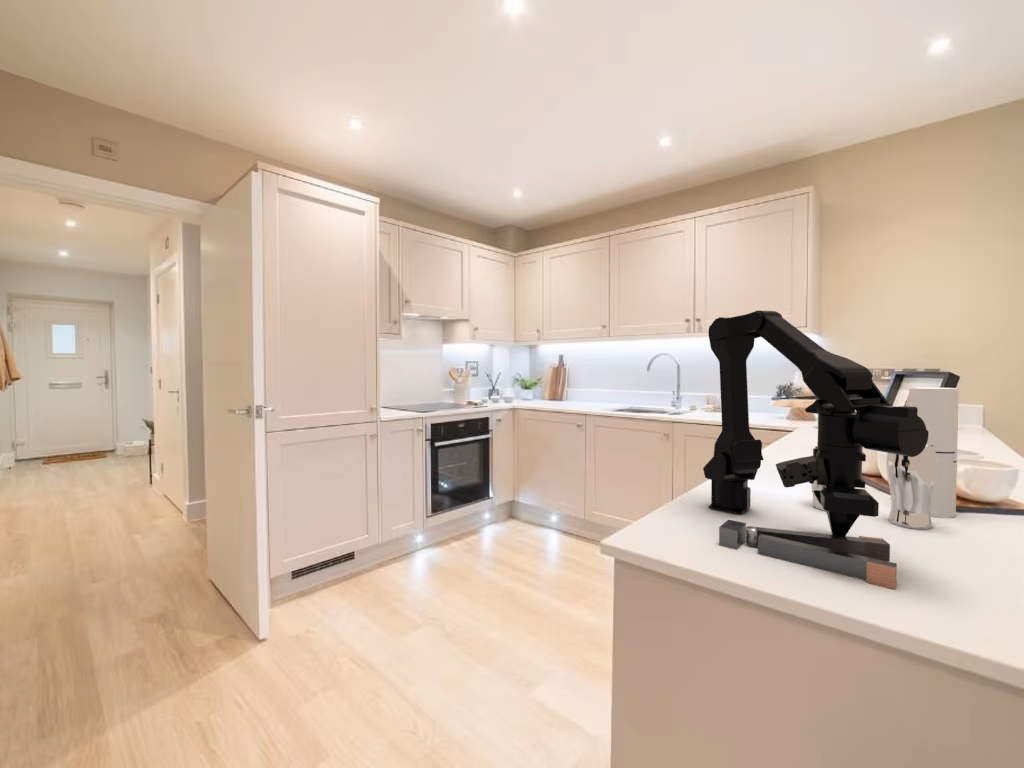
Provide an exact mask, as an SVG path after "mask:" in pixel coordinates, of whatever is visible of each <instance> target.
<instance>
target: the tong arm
mask: <svg viewBox="0 0 1024 768" xmlns="http://www.w3.org/2000/svg"><path fill="white" fill-rule="evenodd" d="M761 534H764V535H768V536H773V537H777V538H782V539H787V540H791V541H796V542H800V543H805V544H810V545H814V546H819V547H823V548H828V549H832V550H837V551H842V552H846V553H851V554H855V555H860V556H865V557H869V558H874V559H878V560H883V561H887V562H891V560H890V558H891V556H890V555H891V553H890V552H891V544H890V543H889V542H888V541H886V540H885V539H884V538H882V537H873V536H862V535H858V537H857V536H856V537H855V536H847V535H846V536H839V535H832V534H828V533H827V534H826V533H818V532H808V531H798V530H790V529H780V528H770V527H762V526H761V527H760V526H753V525H749V526H747V525H746V541H745V544H746V545H748V546H751V547H758V537H759V536H760V535H761Z"/></svg>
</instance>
